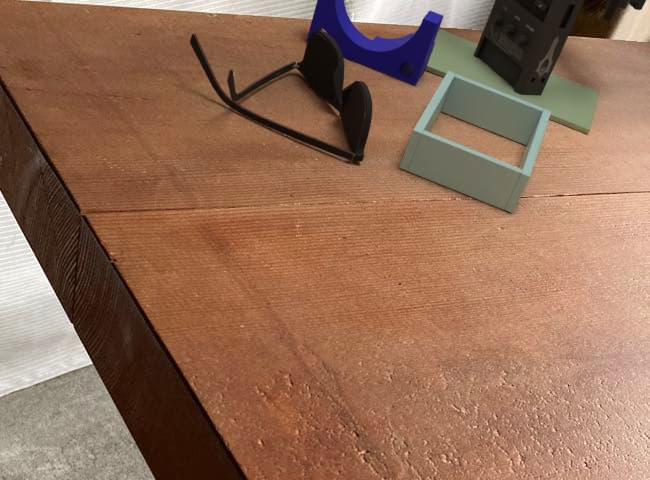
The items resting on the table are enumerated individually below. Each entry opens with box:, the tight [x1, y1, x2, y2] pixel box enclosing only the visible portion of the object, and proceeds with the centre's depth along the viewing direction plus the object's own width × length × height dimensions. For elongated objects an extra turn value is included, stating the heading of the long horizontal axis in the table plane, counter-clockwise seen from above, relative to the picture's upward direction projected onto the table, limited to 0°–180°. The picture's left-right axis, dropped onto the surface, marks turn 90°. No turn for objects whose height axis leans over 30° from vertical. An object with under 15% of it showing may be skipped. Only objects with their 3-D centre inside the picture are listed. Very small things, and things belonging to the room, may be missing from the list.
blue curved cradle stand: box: [305, 0, 444, 86], centre depth 99 cm, size 12×4×6 cm, turn 69°
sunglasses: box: [189, 30, 373, 162], centre depth 85 cm, size 17×14×5 cm
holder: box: [398, 71, 551, 214], centre depth 89 cm, size 11×16×4 cm, turn 160°
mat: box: [425, 28, 600, 135], centre depth 106 cm, size 20×12×1 cm, turn 70°
